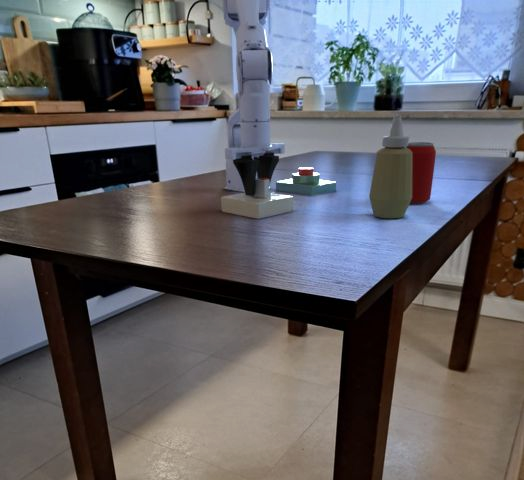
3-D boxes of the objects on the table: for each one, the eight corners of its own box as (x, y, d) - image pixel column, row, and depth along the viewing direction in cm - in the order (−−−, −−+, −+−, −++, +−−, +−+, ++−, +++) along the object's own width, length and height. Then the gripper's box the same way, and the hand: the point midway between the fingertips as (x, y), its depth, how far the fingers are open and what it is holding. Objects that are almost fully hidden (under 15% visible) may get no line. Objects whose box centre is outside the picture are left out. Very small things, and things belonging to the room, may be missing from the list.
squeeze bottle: (385, 222, 96) (395, 116, 88) (359, 214, 102) (365, 115, 94) (419, 217, 99) (430, 114, 91) (391, 210, 106) (400, 113, 98)
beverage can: (426, 199, 116) (433, 141, 111) (432, 204, 110) (440, 144, 105) (396, 199, 117) (401, 142, 111) (400, 204, 111) (406, 144, 105)
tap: (244, 195, 107) (243, 176, 106) (249, 194, 108) (249, 175, 107) (264, 198, 103) (264, 179, 102) (269, 197, 104) (269, 178, 103)
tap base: (221, 211, 108) (220, 196, 106) (256, 204, 114) (256, 189, 113) (258, 219, 100) (257, 202, 99) (293, 211, 107) (293, 195, 105)
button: (295, 175, 127) (295, 168, 127) (305, 174, 130) (305, 166, 129) (306, 177, 125) (306, 169, 124) (316, 175, 127) (316, 168, 126)
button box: (275, 190, 130) (275, 174, 128) (299, 186, 136) (299, 170, 134) (312, 196, 122) (312, 178, 120) (335, 191, 128) (336, 174, 126)
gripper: (241, 123, 93) (244, 201, 99) (295, 120, 102) (295, 191, 108) (216, 122, 97) (220, 197, 103) (270, 119, 106) (271, 187, 112)
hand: (256, 194), depth 106 cm, fingers open, 3 cm apart
